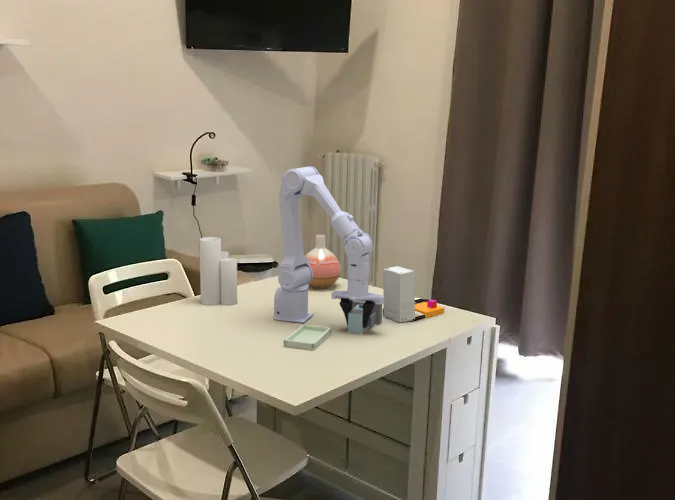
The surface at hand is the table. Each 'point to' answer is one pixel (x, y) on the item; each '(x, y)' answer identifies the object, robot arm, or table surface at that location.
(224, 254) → the vase
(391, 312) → the skincare box
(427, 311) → the orange flat block
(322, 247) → the vase
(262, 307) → the table surface
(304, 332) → the tray
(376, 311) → the bay
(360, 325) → the tall blue-grey prism
